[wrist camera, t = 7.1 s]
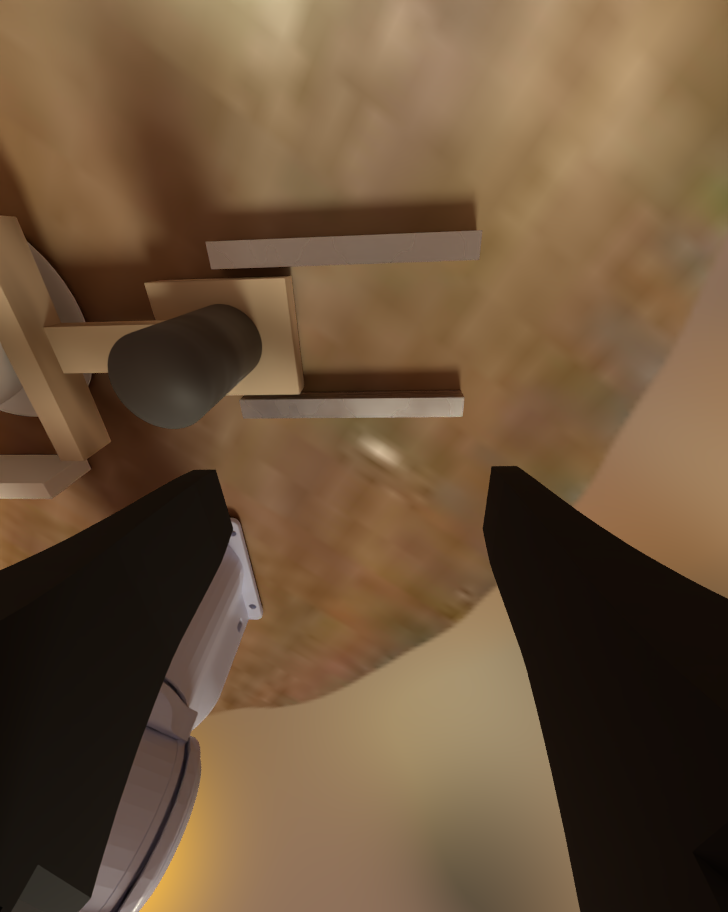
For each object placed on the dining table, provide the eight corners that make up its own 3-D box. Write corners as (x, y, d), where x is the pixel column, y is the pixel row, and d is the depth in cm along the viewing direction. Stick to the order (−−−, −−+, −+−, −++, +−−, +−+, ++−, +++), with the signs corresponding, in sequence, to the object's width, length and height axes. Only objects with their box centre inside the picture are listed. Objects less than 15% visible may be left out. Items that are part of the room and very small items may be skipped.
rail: (458, 408, 19) (462, 416, 18) (249, 410, 20) (243, 418, 19) (476, 230, 15) (482, 230, 14) (215, 241, 16) (205, 241, 15)
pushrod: (309, 430, 20) (276, 509, 14) (105, 431, 21) (-9, 506, 15) (283, 207, 15) (213, 183, 9) (14, 219, 16) (-212, 205, 10)
